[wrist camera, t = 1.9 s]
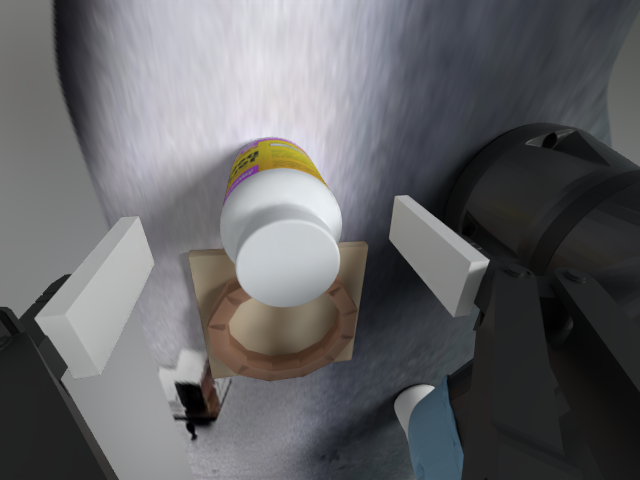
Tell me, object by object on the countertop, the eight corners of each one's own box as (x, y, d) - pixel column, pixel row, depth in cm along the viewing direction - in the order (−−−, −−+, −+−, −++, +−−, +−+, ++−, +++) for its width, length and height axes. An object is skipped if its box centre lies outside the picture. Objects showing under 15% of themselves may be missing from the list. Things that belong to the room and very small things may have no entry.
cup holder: (364, 241, 29) (375, 257, 26) (348, 353, 36) (356, 374, 34) (190, 250, 26) (183, 270, 23) (213, 371, 33) (210, 395, 31)
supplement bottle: (251, 118, 21) (250, 165, 10) (328, 159, 24) (391, 233, 13) (217, 196, 24) (187, 302, 13) (290, 226, 26) (317, 336, 15)
